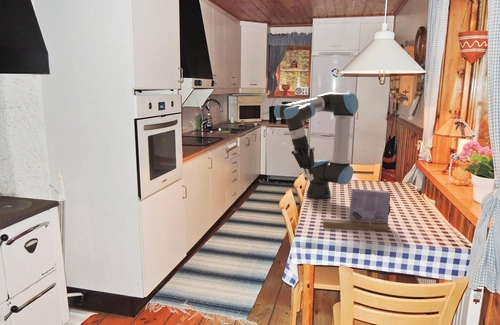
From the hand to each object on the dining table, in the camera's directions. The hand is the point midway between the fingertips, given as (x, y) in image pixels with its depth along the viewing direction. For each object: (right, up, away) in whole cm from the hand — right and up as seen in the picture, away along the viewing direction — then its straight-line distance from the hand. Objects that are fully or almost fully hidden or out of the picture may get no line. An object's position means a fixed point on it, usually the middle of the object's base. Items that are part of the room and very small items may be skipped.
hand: (311, 179), depth 192 cm
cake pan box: (+28, -23, -6) cm, 36 cm away
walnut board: (+19, -23, -11) cm, 32 cm away
